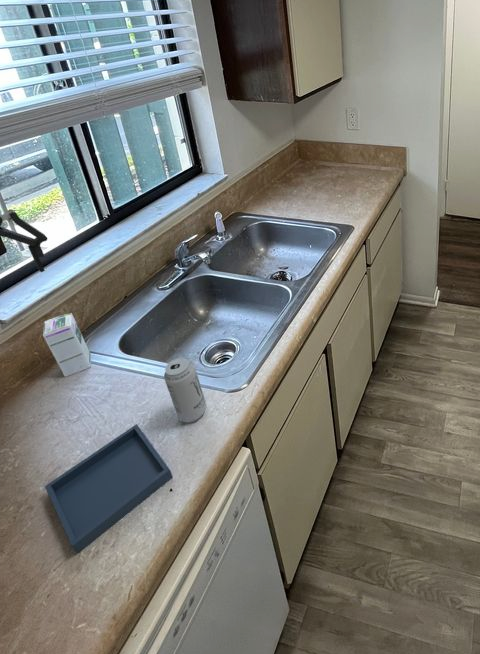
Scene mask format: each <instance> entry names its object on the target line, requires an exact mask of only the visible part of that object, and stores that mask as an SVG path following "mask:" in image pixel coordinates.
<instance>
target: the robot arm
mask: <svg viewBox="0 0 480 654" xmlns="http://www.w3.org/2000/svg"><path fill="white" fill-rule="evenodd" d="M3 221H7V222H9V223H12V222H13V223H14V224H16V225H17V226H18V227H20V228H22V229H23V230H24V231H26V232H28V233H29V234H31V235H32V236H34V237H35V238H34V237H30V236H28V235H25V234H21V233H19V232H17V231H13V230H11V229H8V228H6V227H3V226H2V225H3ZM0 237H2V238H7V239H10V240H12V241H15V242H18V243H22V244H25V245H27V248H28V250H29V252H30V254H31V256H32V259H33V261H34V263H35V265H36V267H37V269H38V271H39V272H40V273H43V272H45V271H46V270H45V268H44V266H43V264H42V261H41V258H43V257H44V256H45V254H44V251H43V250H42V249H43V248H42V246H41V245H42V243H44V242H47V241H48V239H49V238H48V237H47V236H46V234H44V233H43V232H42V231H40V230H39V229H38V228H35V227H34V226H33V225H32V224H30V223H28V222H27V221H26V220H23V219H22V218H21V217H19V215H18V213H17V212H16V211H15V209H8V210H7V212H5V213H3V214H0Z"/></svg>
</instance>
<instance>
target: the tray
mask: <svg viewBox="0 0 480 654" xmlns="http://www.w3.org/2000/svg"><path fill="white" fill-rule="evenodd" d="M172 479H173V474H172V472H171V469H170V468H169V466H168V465H167V464H166V462H165V461H164V459H163V458H162V456H161V455H160V454H159V452H158V451H157V450H156V449H155V447H154V446H153V444H152V443H151V442H150V440H149V439H148V438H147V436H146V435H145V433H144V432H143V430H141V428H140V426H139V425H138V424H134V425H133V426H131V427H130V428H128V429H127V430H125V431H124V432H123V433H121V434H119V435H118V436H116V437H115V438H114V439H112V440H111V441H109V442H108V443H107V444H105V445H104V446H102V447H100V448H99V449H98V450H96V451H95V452H93V453H92V454H90V455H89V456H87V457H85V458H84V459H83V460H81V461H80V462H78V463H77V464H75V465H74V466H72V467H71V468H69V469H68V470H66V471H65V472H64V473H62V474H60V475H58V477H56V478H55V479H53V480H52V481H50V482H49V483H48V484H46V485H45V486H44V488H45V490H46V493H47V494H48V497H49V499H50V501H51V503H52V506H53V508H54V510H55V512H56V515H57V516H58V518H59V521H60V523H61V525H62V527H63V530H64V532H65V534H66V536H67V538H68V540H69V543H70V545H71V548H72V549H73V551H74V552H75V554H76V555H78V554H79V553H81V552H82V551H83V550H84V549H85V548H87V547H88V546H89V545H91V544H92V543H93V542H95V541H96V540H97V539H98V538H99V537H100V536H102V535H103V534H104V533H106V532H107V531H108V530H109V529H111V528H112V527H113V526H115V525H116V524H117V523H118V522H119V521H120V520H122V519H124V517H125V516H126V515H128V514H129V513H130V512H132V511H133V510H134V509H135V508H137V507H138V506H140V504H142V503H143V502H145V500H147V499H148V498H149V497H150V496H151V495H153V494H154V493H155V492H157V491H158V490H159V489H160V488H161V487H163V486H164V485H165V484H167V483H168V482H169V481H171V480H172Z"/></svg>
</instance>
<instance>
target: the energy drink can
mask: <svg viewBox="0 0 480 654" xmlns="http://www.w3.org/2000/svg"><path fill="white" fill-rule="evenodd" d="M164 368H165V369H164V371H165V372H164V374H163V375H164V376H163V378H164V382H165V384H166V387H167V390H168V393H169V396H170V398H171V401H172V404H173V407H174V410H175V413H176V416H177V418H178V421H180V422H182V423H188V424H190V423H194V422H196V421H198V420H199V419H201V417H203V415H204V414H205V412H206V410H207V402H206V399H205V395H204V392H203V389H202V385H201V382H200V379H199V376H198V372H197V370H196V369H197V368H196V365H195V363H194V362H192V360H190V359H189V358H188V357H185V356H180V357H176V358H174V359H172V360H171V361H170V362H168V363H167V364H166V366H165V367H164Z"/></svg>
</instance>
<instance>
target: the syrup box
mask: <svg viewBox="0 0 480 654" xmlns="http://www.w3.org/2000/svg"><path fill="white" fill-rule="evenodd" d="M42 337H43V339H44V340H45V342H46V344H47V346H48V348H49V350H50V353H51V354H52V357H53V358H54V359H55V362H56V363H57V366H58V367H59V369H60V371H61V373H62V375H63V376H64V377H69V376H72V375H74V374H78V373H79V372H82V371H84V370H87V369H90V368H91V367H92V352H91V350H90V348H89V346H88V344H87V342H86V340H85V338H84V336H83V334H82V332H81V330H80V328H79V325H78V323H77V321H76V319H75V317H74V315H73V313H72V312H69V313H64V314H61V315H58V316H55V317H53V318H50V319H47V320H44V325H43V330H42Z"/></svg>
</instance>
